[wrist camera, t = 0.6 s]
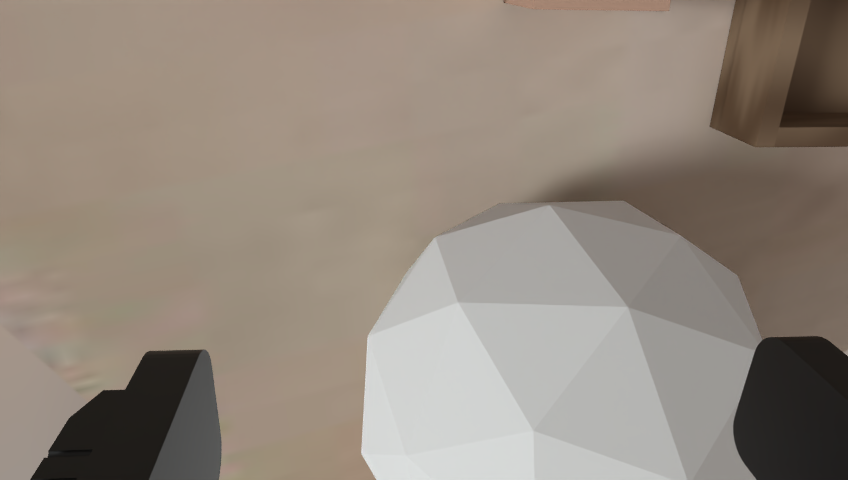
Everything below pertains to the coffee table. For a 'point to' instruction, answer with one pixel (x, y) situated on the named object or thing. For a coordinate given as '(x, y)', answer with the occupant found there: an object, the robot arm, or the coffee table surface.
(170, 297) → the coffee table surface
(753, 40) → the walnut crate
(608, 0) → the terracotta crate
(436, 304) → the geometric orb
